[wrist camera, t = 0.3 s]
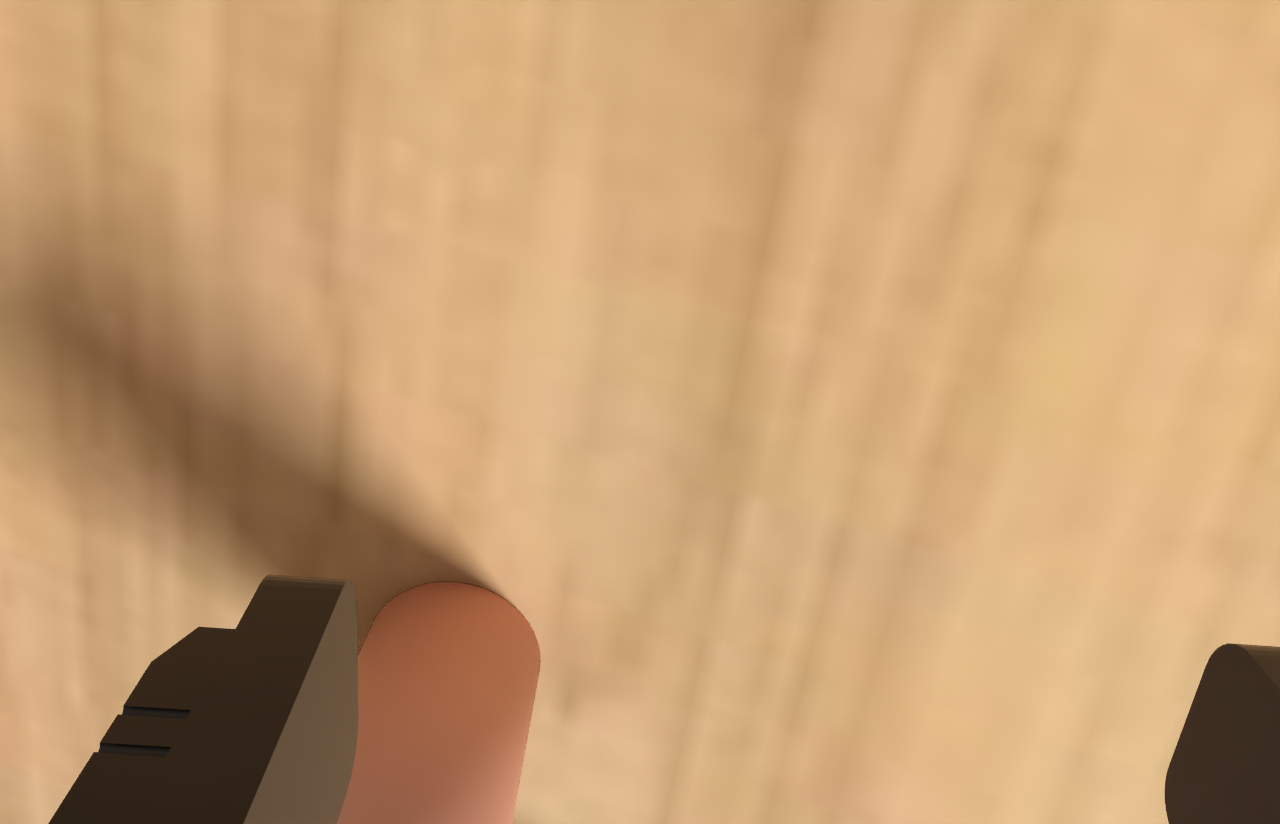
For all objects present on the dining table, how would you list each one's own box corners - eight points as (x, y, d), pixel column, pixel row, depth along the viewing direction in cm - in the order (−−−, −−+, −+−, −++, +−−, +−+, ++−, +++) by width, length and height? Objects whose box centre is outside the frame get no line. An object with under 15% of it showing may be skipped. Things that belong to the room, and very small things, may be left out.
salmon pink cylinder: (376, 567, 31) (209, 918, 20) (552, 599, 31) (487, 962, 20) (359, 711, 33) (200, 1103, 22) (526, 739, 33) (453, 1141, 22)
